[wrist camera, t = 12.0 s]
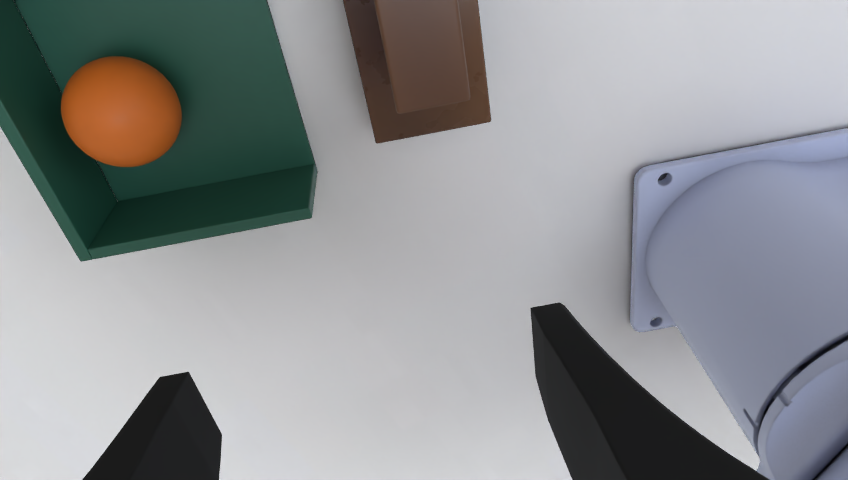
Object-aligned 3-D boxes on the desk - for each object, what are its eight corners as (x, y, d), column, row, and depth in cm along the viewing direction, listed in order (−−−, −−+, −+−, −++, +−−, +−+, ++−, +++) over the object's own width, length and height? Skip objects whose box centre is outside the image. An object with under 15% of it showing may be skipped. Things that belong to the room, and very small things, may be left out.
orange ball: (65, 52, 19) (169, 33, 19) (111, 147, 21) (206, 129, 21) (18, 90, 16) (138, 68, 16) (76, 195, 18) (184, 175, 18)
